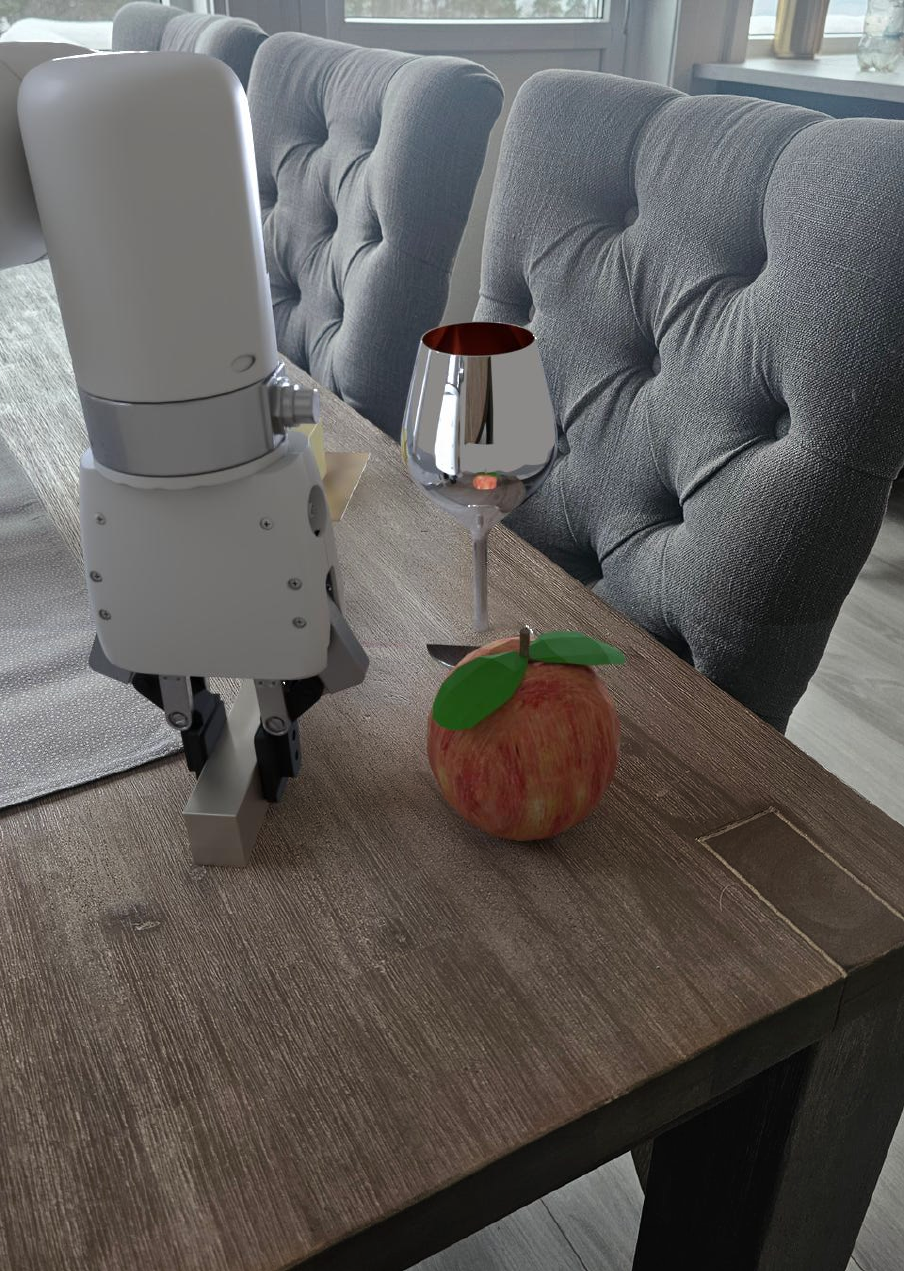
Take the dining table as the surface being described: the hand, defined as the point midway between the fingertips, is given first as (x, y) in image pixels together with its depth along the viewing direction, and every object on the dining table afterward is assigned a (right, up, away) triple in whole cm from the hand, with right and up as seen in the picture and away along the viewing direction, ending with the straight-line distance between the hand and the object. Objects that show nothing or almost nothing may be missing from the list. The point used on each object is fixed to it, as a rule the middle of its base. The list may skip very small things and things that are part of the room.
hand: (248, 779), depth 51 cm
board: (-6, +17, +29) cm, 35 cm away
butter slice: (-1, +18, +27) cm, 32 cm away
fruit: (+13, -2, -1) cm, 13 cm away
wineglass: (+12, +6, +11) cm, 17 cm away
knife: (+1, +2, +5) cm, 5 cm away
